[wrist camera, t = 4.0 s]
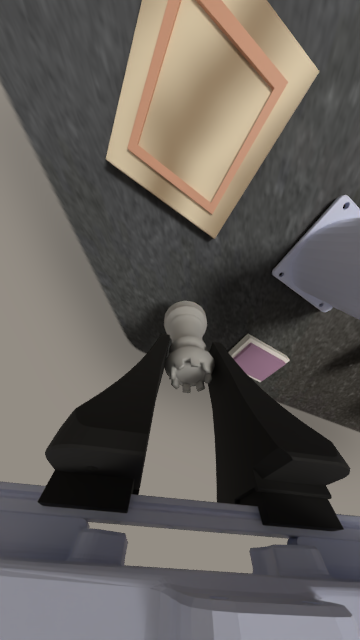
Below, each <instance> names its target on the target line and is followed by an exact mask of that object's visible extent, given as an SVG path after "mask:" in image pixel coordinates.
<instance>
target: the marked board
mask: <svg viewBox="0 0 360 640" xmlns="http://www.w3.org/2000/svg"><path fill="white" fill-rule="evenodd" d="M318 73H319V70H318V69H317V68H316V66H315V65H314V64H313V62H312V61H311V60H310V58H309V57H308V56H307V54H306V53H305V51H304V50H303V49H302V47H301V46H300V45H299V43H298V42H297V41H296V39H295V38H294V37H293V35H292V34H291V33H290V31H289V30H288V28H287V27H286V26H285V24H284V23H283V22H282V20H281V19H280V18H279V16H278V15H277V14H276V12H275V11H274V10H273V8H272V7H271V5H270V4H269V3H268V1H267V0H142V3H141V7H140V12H139V16H138V20H137V25H136V29H135V33H134V38H133V42H132V47H131V51H130V55H129V60H128V64H127V68H126V73H125V77H124V82H123V86H122V90H121V95H120V99H119V103H118V108H117V112H116V116H115V121H114V125H113V130H112V134H111V138H110V143H109V147H108V151H107V156H106V160H107V161H108V162H109V163H111V164H112V165H113V166H115V167H116V168H117V169H119V170H120V171H122V172H123V173H124V174H126V175H127V176H128V177H130V178H131V179H133V180H134V181H135V182H137V183H138V184H139V185H141V186H142V187H144V188H145V189H146V190H148V191H149V192H150V193H152V194H153V195H154V196H156V197H157V198H159V199H160V200H161V201H163V202H164V203H165V204H167V205H168V206H170V207H171V208H172V209H174V210H175V211H176V212H178V213H179V214H181V215H182V216H183V217H185V218H186V219H187V220H189V221H190V222H192V223H193V224H194V225H196V226H197V227H198V228H200V229H201V230H202V231H204V232H205V233H207V234H208V235H209V236H211V237H212V238H214V239H215V237H216V236H217V234H218V233H219V231H220V229H221V228H222V226H223V225H224V223H225V221H226V220H227V218H228V217H229V215H230V213H231V212H232V210H233V209H234V207H235V205H236V204H237V202H238V201H239V199H240V197H241V196H242V194H243V193H244V191H245V189H246V188H247V186H248V185H249V183H250V181H251V180H252V178H253V177H254V175H255V173H256V172H257V170H258V169H259V167H260V165H261V164H262V162H263V161H264V159H265V157H266V156H267V154H268V153H269V151H270V149H271V148H272V146H273V145H274V143H275V141H276V140H277V138H278V137H279V135H280V133H281V132H282V130H283V129H284V127H285V125H286V124H287V122H288V121H289V119H290V117H291V116H292V114H293V113H294V111H295V109H296V108H297V106H298V105H299V103H300V101H301V100H302V98H303V97H304V95H305V93H306V92H307V90H308V89H309V87H310V86H311V84H312V82H313V81H314V79H315V78H316V76H317V74H318Z"/></svg>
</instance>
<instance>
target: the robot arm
mask: <svg viewBox="0 0 360 640" xmlns="http://www.w3.org/2000/svg"><path fill="white" fill-rule="evenodd" d="M344 204H345V208H344V209H343V205H344ZM281 272H282V275H281V276H279V274H280V273H281ZM272 275H273V276H275V277H276V278H277V279H279V280H280V281H281V282H283V283H284V284H285V285H287V286H288V287H289V288H291V289H292V290H293V291H295V292H296V293H297V294H299V295H300V296H301V297H303V298H304V299H305V300H307V301H308V302H309V303H311V304H312V305H314V306H315V307H316V308H318V309H319V310H320V311H322V312H327V311H329V310H330V309H331V308H333V307H334V308H336V309H338V310H341V311H343V312H345V313H347V314H349V315H351V316H353V317H355V318H357V319H359V320H360V209H359V208H358V206H357V205H356V204H355V203H354V202H353V201H352V200H351V199H350V198H349V196H347V195H343V196H340V197H338V198H337V199H336V200H335V201H334V202H333V203H332V204H331V206H330V207H329V208H328V209H327V210H326V211H325V212H324V213H323V215H322V216H321V217H320V218H319V219H318V220H317V221H316V222H315V223H314V225H313V226H312V227H311V228H310V229H309V230H308V231H307V232H306V233H305V235H304V236H303V237H302V238H301V239H300V240H299V241H298V242H297V244H296V245H295V246H294V247H293V248H292V249H291V250H290V251H289V252H288V254H287V255H286V256H285V257H284V258H283V259H282V260H281V261H280V263H279V264H278V265H277V266H276V267H275V268H274V269H273V271H272ZM169 340H170V335H167V334H160V336H159V338H158V340H157V341H156V343H155V344H154V345H153V347H152V348H151V349H150V351H149V352H148V353H147V354H146V355H145V356H144V357H143V359H142V360H141V361H140V362H139V363H138V364H137V365H136V366H134V367H133V368H132V369H131V370H130V371H129V372H128V373H126V374H125V375H124V376H123V377H122V378H121V379H119V380H118V381H117V382H115V383H114V384H112V385H111V386H110V387H108V388H107V389H105V390H104V391H103V392H101V393H100V394H98V395H97V396H95V397H93V398H92V399H90V400H89V401H87V402H85V403H84V404H82V405H81V406H79V407H78V408H76V409H75V410H74V411H73V412H72V414H71V415H70V416H69V417H68V419H67V420H66V421H65V423H64V424H63V425H62V426H61V428H60V429H59V431H58V432H57V434H56V435H55V437H54V438H53V440H52V441H51V443H50V445H49V446H48V448H47V449H46V452H45V455H46V458H47V460H48V461H49V463H50V464H51V465H52V466H53V468H54V469H55V471H54V473H53V475H52V476H51V478H50V480H49V482H48V484H47V485H46V486H41V485H30V484H19V483H9V482H0V640H360V516H350V515H341V514H336V513H335V512H334V510H333V508H332V506H331V504H330V502H329V501H328V499H331V494H330V492H329V491H328V489H327V487H326V485H328V484H330V483H333V482H335V481H338V480H340V479H343V478H345V477H346V476H347V475H349V472H350V468H349V466H348V465H347V463H346V462H345V460H344V459H343V457H342V456H341V455H340V453H339V452H338V450H337V449H336V447H335V446H334V445H333V443H332V442H331V441H329V440H328V439H327V438H325V437H323V436H322V435H321V434H319V433H318V432H316V431H315V430H313V429H312V428H310V427H309V426H307V425H306V424H304V423H303V422H302V421H300V420H299V419H298V418H296V417H295V416H294V415H292V414H291V413H290V412H288V411H287V410H286V409H285V408H283V407H282V406H281V405H280V404H278V403H277V402H276V401H275V400H274V399H272V398H271V397H270V396H269V395H268V394H267V393H266V392H264V391H263V390H262V389H261V388H260V387H259V386H258V385H257V384H256V383H255V382H254V381H253V380H252V379H251V378H250V377H249V376H248V375H247V374H246V373H245V372H244V371H243V369H242V368H241V367H240V366H239V365H238V364H237V363H236V361H235V360H234V359H233V358H232V356H231V355H230V354H229V353H228V352H227V350H226V349H225V348H224V347H223V345H222V344H220V343H215V342H213V344H212V346H211V349H210V352H209V353H210V355H211V356H212V357H213V359H214V364H215V367H214V369H213V372H212V374H211V376H212V380H211V382H210V384H208V386H209V392H210V398H211V403H212V409H213V421H214V433H215V451H216V476H217V502H206V501H195V500H186V499H175V498H164V497H155V496H144V495H138V494H139V488H140V483H141V478H142V473H143V467H144V462H145V456H146V451H147V445H148V439H149V434H150V428H151V423H152V417H153V412H154V406H155V401H156V397H157V393H158V389H159V385H160V382H161V378H162V374H163V370H164V367H165V361H166V356H167V351H168V345H169ZM88 522H97V523H109V524H120V525H132V526H144V527H156V528H169V529H180V530H193V531H205V532H217V533H229V534H242V535H254V536H265V537H277V538H289V539H288V542H287V545H271V546H268V547H260V548H250V556H251V561H252V565H253V573H252V574H248V573H233V572H218V571H203V570H187V569H172V568H157V567H139V566H126V565H124V561H125V554H126V549H127V544H128V541H127V539H126V535H125V533H119V532H113V531H106V530H100V529H89V524H88Z"/></svg>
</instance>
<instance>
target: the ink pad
mask: <svg viewBox="0 0 360 640" xmlns="http://www.w3.org/2000/svg"><path fill="white" fill-rule="evenodd" d="M228 353H229V354H230V355H231V356H232V358H233V359H234V360H235V361H236V363H237V364H238V365H239V366H240V367H241V368H242V369H243V371H244V372H245V373H246V374H247V375H248V376H249V377H251V378H253V379H255V380H257V381H259V382H261V381H263V380H264V379H265V378H267V377H268V376H270V375H271V374H272V373H274V372H275V371H277V370H278V369H279V368H281V367H282V366H284V365H285V364H286V363H287V362H288V361H290V360H289V358H288V357H287V356H286V355H284V354H283V353H281V352H279V351H277V350H276V349H274V348H272V347H271V346H269V345H267V344H265V343H264V342H262V341H260V340H258V339H257V338H255V337H253V336H251V335H250V334H247V335H246V336H245V337H244V338H243V339H242V340H241V341H240V342H238V343H237V344H236V345H235V346H234V347H233V348H232V349H231V350H230V351H229V352H228Z"/></svg>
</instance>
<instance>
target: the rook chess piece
mask: <svg viewBox="0 0 360 640" xmlns="http://www.w3.org/2000/svg"><path fill="white" fill-rule="evenodd" d="M164 327H165V330H166V333H167V335H170V338H171V339H172V345H171V346H170V350H169V353H170V355H169V356H168V358H167V359H166V361H165V370H166V373H167V375H168V376H169V377H170V379H172V383H171V385H172V386H173V387H174V388H175V389H177V388H179V385H182V386H183V392H186V393H190V387H191V386H196V389H197V391H201V390H203V389H205V387H204V382H205V383H208V384H210V382H211V380H212V376H211V374H212V372H213V369H214V367H215V364H214V359H213V357H212V356H211V355H210V353H209V352H207V347H206V345H205V343H204V342H203V341H202V337H203V335H204V333H205V331H206V327H207V320H206V314H205V312H204V310H203V309H202V307H201V306H199V305H198V304H196V303H194V302H190V301H181V302H177V303H175V304H174V305H172V306H171V307H169V309H168V310H167V312H166V313H165V319H164Z"/></svg>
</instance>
